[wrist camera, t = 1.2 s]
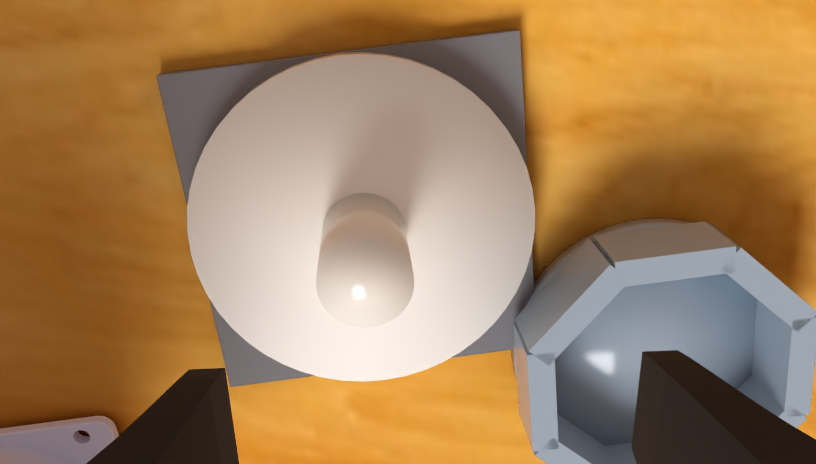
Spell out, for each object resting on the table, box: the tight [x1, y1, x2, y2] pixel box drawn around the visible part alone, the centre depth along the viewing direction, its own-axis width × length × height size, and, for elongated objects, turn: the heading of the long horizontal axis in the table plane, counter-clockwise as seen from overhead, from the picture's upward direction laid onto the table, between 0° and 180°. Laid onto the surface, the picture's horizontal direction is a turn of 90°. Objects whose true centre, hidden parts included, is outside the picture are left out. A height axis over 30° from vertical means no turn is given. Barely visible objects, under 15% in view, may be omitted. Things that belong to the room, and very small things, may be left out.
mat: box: [157, 29, 534, 387], centre depth 22 cm, size 10×10×1 cm
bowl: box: [511, 218, 816, 464], centre depth 23 cm, size 9×9×3 cm
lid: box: [187, 52, 535, 381], centre depth 20 cm, size 10×10×4 cm
